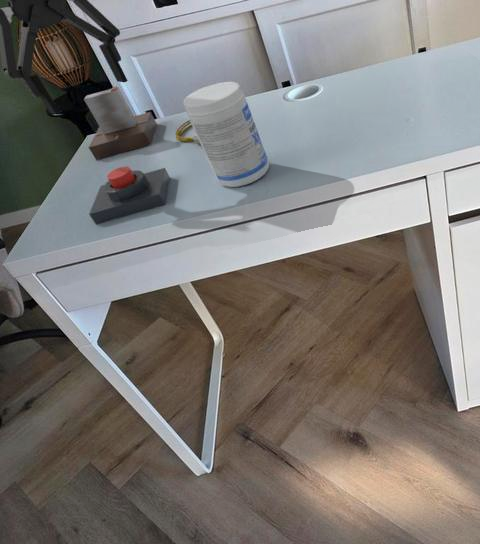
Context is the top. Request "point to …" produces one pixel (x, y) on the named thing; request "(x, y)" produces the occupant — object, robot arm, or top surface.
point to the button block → (131, 196)
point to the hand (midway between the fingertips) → (90, 96)
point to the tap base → (124, 138)
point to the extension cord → (194, 139)
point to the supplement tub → (227, 133)
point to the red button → (121, 177)
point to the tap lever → (110, 110)
